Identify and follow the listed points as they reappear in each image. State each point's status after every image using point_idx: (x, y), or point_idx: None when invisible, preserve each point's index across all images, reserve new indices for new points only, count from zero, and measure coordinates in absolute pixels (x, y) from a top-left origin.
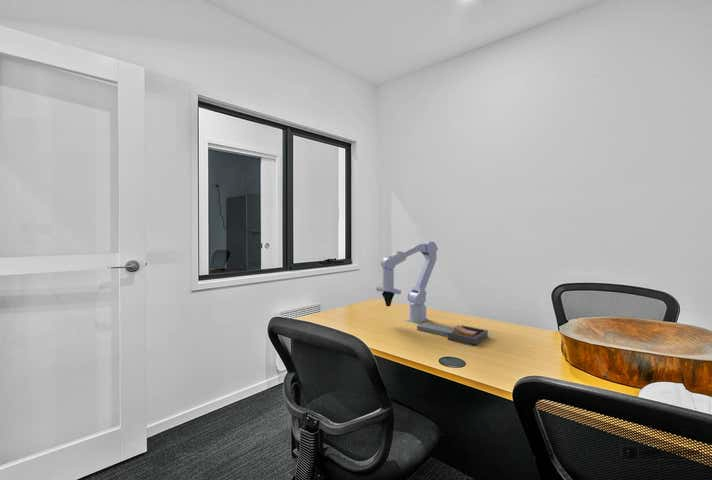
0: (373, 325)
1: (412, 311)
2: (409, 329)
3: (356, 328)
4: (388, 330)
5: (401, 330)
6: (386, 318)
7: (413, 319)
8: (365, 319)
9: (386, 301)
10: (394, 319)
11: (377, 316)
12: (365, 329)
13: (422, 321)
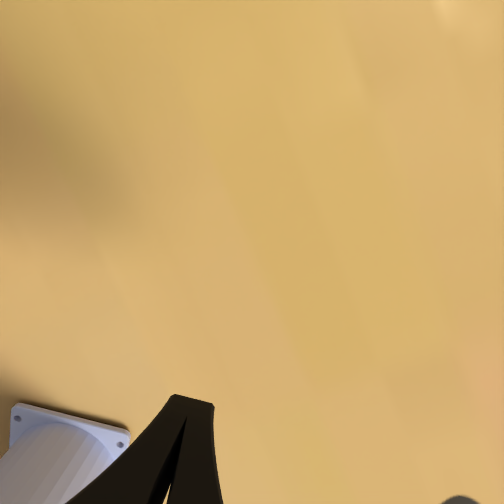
0: (342, 201)
1: (20, 500)
2: (2, 225)
3: (485, 14)
4: (145, 111)
5: (44, 167)
6: (306, 435)
7: (58, 433)
8: (482, 348)
9: (178, 461)
10: (233, 431)
11: (400, 460)
12: (373, 29)
13: (11, 442)
